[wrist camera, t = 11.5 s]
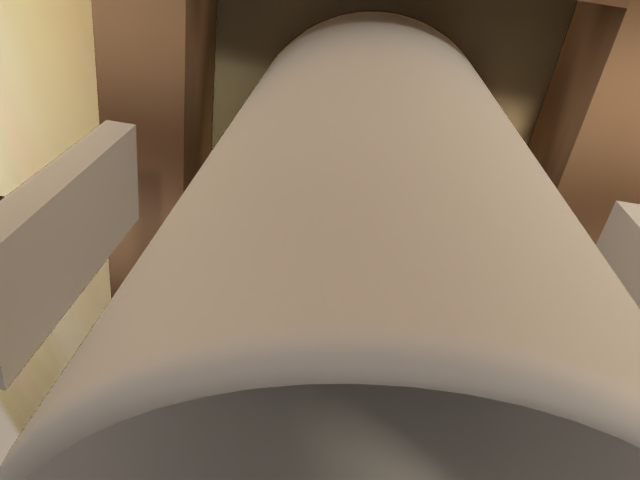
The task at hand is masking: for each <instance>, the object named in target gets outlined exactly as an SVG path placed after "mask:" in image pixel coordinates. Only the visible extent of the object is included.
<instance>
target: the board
mask: <svg viewBox="0 0 640 480" xmlns="http://www.w3.org/2000/svg"><path fill="white" fill-rule="evenodd" d="M577 1H578V3H577V5H576V8H575V11H574V14H573V17H572V20H571V23H570V26H569V29H568V32H567V34H566V37H565V40H564V43H563V46H562V49H561V52H560V55H559V58H558V60H557V63H556V66H555V69H554V72H553V75H552V78H551V81H550V84H549V87H548V89H547V92H546V95H545V98H544V101H543V104H542V107H541V110H540V113H539V116H538V118H537V121H536V124H535V127H534V130H533V133H532V136H531V139H530V142H529V145H528V147H529V149H530V150H531V152H532V153H533V155H534V156H535V158H536V159H537V161H538V162H539V163H540V165H541V166H542V168H543V169H544V171H545V172H546V174H547V175H548V177H549V178H550V179H551V181H552V182H553V184H554V185H555V187H556V188H557V190H558V191H559V193H560V194H561V195H562V197H563V198H564V200H565V201H566V203H567V204H568V206H569V207H570V209H571V210H572V211H573V213H574V214H575V216H576V217H577V219H578V220H579V222H580V223H581V224H582V226H583V227H584V229H585V230H586V232H587V233H588V235H589V236H590V238H591V239H592V240H593V242H594V243H595V245H596V244H597V242H598V239H599V237H600V235H601V233H602V231H603V228H604V226H605V224H606V222H607V220H608V217H609V215H610V213H611V211H612V209H613V206H614V204H615V202H616V201H622V202H628V203H635V204H640V0H577ZM91 2H92V17H93V32H94V46H95V61H96V76H97V91H98V106H99V121H100V124H102V123H103V122H104V121H106V120H110V121H116V122H123V123H129V124H135V125H136V143H137V174H138V205H139V219H138V220H137V222H136V223H135V224H134V225H133V227H132V228H131V229H130V231H129V232H128V233H127V234H126V236H125V237H124V238H123V240H122V241H121V242H120V243H119V245H118V246H117V247H116V249H115V250H114V251H113V253H112V254H111V255H110V256H109V270H110V284H111V299H112V297H113V296H114V294H115V293H116V292H117V290H118V289H119V287H120V286H121V284H122V283H123V281H124V280H125V278H126V277H127V275H128V274H129V272H130V271H131V269H132V268H133V267H134V265H135V264H136V262H137V261H138V259H139V258H140V256H141V255H142V253H143V252H144V250H145V249H146V247H147V246H148V244H149V243H150V241H151V240H152V239H153V237H154V236H155V234H156V233H157V231H158V230H159V228H160V227H161V225H162V224H163V222H164V221H165V219H166V218H167V216H168V215H169V213H170V212H171V211H172V209H173V208H174V206H175V205H176V203H177V202H178V200H179V199H180V197H181V196H182V194H183V193H184V191H185V190H186V188H187V187H188V186H189V184H190V183H191V181H192V180H193V178H194V177H195V175H196V174H197V172H198V171H199V169H200V168H201V166H202V165H203V163H204V162H205V160H206V159H207V158H208V156H209V155H210V153H211V143H212V117H213V92H214V66H215V41H216V15H217V0H91Z"/></svg>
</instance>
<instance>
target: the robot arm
mask: <svg viewBox="0 0 640 480" xmlns="http://www.w3.org/2000/svg"><path fill="white" fill-rule="evenodd" d="M138 219H139V205H138V174H137V143H136V125H135V124H129V123H123V122H116V121H110V120H106V121H104V122H103V123H102V124H100V125H99V126H98V127H96V128H95V129H94V130H93V131H91V132H90V133H89V134H87V135H86V136H85V137H83V138H82V139H81V140H79V141H78V142H77V143H75V144H74V145H73V146H71V147H70V148H69V149H68V150H66V151H65V152H64V153H62V154H61V155H60V156H58V157H57V158H56V159H54V160H53V161H52V162H50V163H49V164H48V165H46V166H45V167H44V168H43V169H41V170H40V171H39V172H37V173H36V174H35V175H33V176H32V177H31V178H29V179H28V180H27V181H25V182H24V183H23V184H21V185H20V186H19V187H18V188H16V189H15V190H14V191H12V192H11V193H10V194H8V195H7V196H6V197H3V196H0V390H7V388H8V387H9V386H10V384H11V383H12V382H13V380H14V379H15V378H16V377H17V375H18V374H19V373H20V371H21V370H22V369H23V368H24V366H25V365H26V364H27V362H28V361H29V360H30V358H31V357H32V356H33V355H34V353H35V352H36V351H37V349H38V348H39V347H40V346H41V344H42V343H43V342H44V340H45V339H46V338H47V337H48V335H49V334H50V333H51V331H52V330H53V329H54V327H55V326H56V325H57V324H58V322H59V321H60V320H61V318H62V317H63V316H64V315H65V313H66V312H67V311H68V309H69V308H70V307H71V306H72V304H73V303H74V302H75V300H76V299H77V298H78V296H79V295H80V294H81V293H82V291H83V290H84V289H85V287H86V286H87V285H88V284H89V282H90V281H91V280H92V278H93V277H94V276H95V274H96V273H97V272H98V271H99V269H100V268H101V267H102V265H103V264H104V263H105V262H106V260H107V259H108V258H109V256H110V255H111V254H112V253H113V251H114V250H115V249H116V247H117V246H118V245H119V243H120V242H121V241H122V240H123V238H124V237H125V236H126V234H127V233H128V232H129V231H130V229H131V228H132V227H133V225H134V224H135V223H136V222H137V220H138ZM596 246H597V248H598V249H599V251H600V252H601V254H602V255H603V256H604V258H605V259H606V261H607V262H608V264H609V265H610V267H611V268H612V270H613V271H614V272H615V274H616V275H617V277H618V278H619V280H620V281H621V283H622V284H623V286H624V287H625V288H626V290H627V291H628V293H629V294H630V296H631V297H632V299H633V300H634V302H635V303H636V304H637V306H638V307H639V309H640V204H635V203H628V202H622V201H616V202H615V204H614V206H613V209H612V211H611V213H610V215H609V217H608V220H607V222H606V224H605V226H604V228H603V231H602V233H601V235H600V237H599V239H598V242H597V244H596Z"/></svg>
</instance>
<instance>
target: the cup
mask: <svg viewBox="0 0 640 480" xmlns="http://www.w3.org/2000/svg"><path fill="white" fill-rule="evenodd" d="M0 480H640V309H639V307H638V306H637V304H636V303H635V302H634V300H633V299H632V297H631V296H630V294H629V293H628V291H627V290H626V288H625V287H624V286H623V284H622V283H621V281H620V280H619V278H618V277H617V275H616V274H615V272H614V271H613V270H612V268H611V267H610V265H609V264H608V262H607V261H606V259H605V258H604V256H603V255H602V254H601V252H600V251H599V249H598V248H597V246H596V245H595V243H594V242H593V240H592V239H591V238H590V236H589V235H588V233H587V232H586V230H585V229H584V227H583V226H582V224H581V223H580V222H579V220H578V219H577V217H576V216H575V214H574V213H573V211H572V210H571V209H570V207H569V206H568V204H567V203H566V201H565V200H564V198H563V197H562V195H561V194H560V193H559V191H558V190H557V188H556V187H555V185H554V184H553V182H552V181H551V179H550V178H549V177H548V175H547V174H546V172H545V171H544V169H543V168H542V166H541V165H540V163H539V162H538V161H537V159H536V158H535V156H534V155H533V153H532V152H531V150H530V149H529V147H528V146H527V145H526V143H525V142H524V140H523V139H522V137H521V136H520V134H519V133H518V131H517V130H516V129H515V127H514V126H513V124H512V123H511V121H510V120H509V118H508V117H507V115H506V114H505V113H504V111H503V110H502V108H501V107H500V105H499V104H498V102H497V101H496V100H495V98H494V97H493V95H492V94H491V92H490V91H489V89H488V88H487V86H486V85H485V84H484V82H483V81H482V79H481V78H480V76H479V75H478V73H477V72H476V70H475V69H474V68H473V66H472V65H471V63H470V62H469V60H468V59H467V57H466V56H465V55H464V54H463V53H462V51H461V50H460V49H459V48H458V47H457V46H456V45H455V44H454V43H453V42H452V41H451V40H450V39H448V38H447V37H446V36H444V35H443V34H442V33H440V32H439V31H437V30H436V29H434V28H432V27H431V26H429V25H427V24H425V23H423V22H420V21H418V20H416V19H413V18H410V17H407V16H403V15H399V14H395V13H387V12H372V11H367V12H355V13H350V14H345V15H341V16H337V17H334V18H331V19H328V20H326V21H323V22H321V23H319V24H317V25H315V26H313V27H311V28H309V29H307V30H306V31H304V32H303V33H302V34H300V35H299V36H297V37H296V38H295V39H294V40H292V41H291V42H290V43H289V44H288V45H287V46H286V47H285V48H284V49H283V50H282V51H281V52H280V53H279V54H278V56H277V57H276V58H275V59H274V61H273V62H272V63H271V65H270V66H269V68H268V69H267V71H266V72H265V74H264V75H263V77H262V78H261V80H260V81H259V82H258V84H257V85H256V87H255V88H254V90H253V91H252V93H251V94H250V96H249V97H248V99H247V100H246V102H245V103H244V105H243V106H242V107H241V109H240V110H239V112H238V113H237V115H236V116H235V118H234V119H233V121H232V122H231V124H230V125H229V127H228V128H227V130H226V131H225V133H224V134H223V135H222V137H221V138H220V140H219V141H218V143H217V144H216V146H215V147H214V149H213V150H212V152H211V153H210V155H209V156H208V158H207V159H206V160H205V162H204V163H203V165H202V166H201V168H200V169H199V171H198V172H197V174H196V175H195V177H194V178H193V180H192V181H191V183H190V184H189V186H188V187H187V188H186V190H185V191H184V193H183V194H182V196H181V197H180V199H179V200H178V202H177V203H176V205H175V206H174V208H173V209H172V211H171V212H170V213H169V215H168V216H167V218H166V219H165V221H164V222H163V224H162V225H161V227H160V228H159V230H158V231H157V233H156V234H155V236H154V237H153V239H152V240H151V241H150V243H149V244H148V246H147V247H146V249H145V250H144V252H143V253H142V255H141V256H140V258H139V259H138V261H137V262H136V264H135V265H134V267H133V268H132V269H131V271H130V272H129V274H128V275H127V277H126V278H125V280H124V281H123V283H122V284H121V286H120V287H119V289H118V290H117V292H116V293H115V294H114V296H113V297H112V299H111V300H110V302H109V303H108V305H107V306H106V308H105V309H104V311H103V312H102V314H101V315H100V317H99V318H98V320H97V321H96V323H95V324H94V326H93V327H92V329H91V330H90V332H89V333H88V335H87V336H86V338H85V339H84V340H83V342H82V343H81V345H80V346H79V348H78V349H77V351H76V352H75V354H74V355H73V357H72V358H71V360H70V361H69V363H68V364H67V366H66V367H65V369H64V370H63V372H62V373H61V375H60V376H59V378H58V379H57V381H56V382H55V384H54V385H53V386H52V388H51V389H50V391H49V392H48V394H47V395H46V397H45V398H44V400H43V401H42V403H41V404H40V406H39V407H38V409H37V410H36V412H35V413H34V415H33V416H32V418H31V419H30V421H29V422H28V424H27V425H26V427H25V428H24V430H23V431H22V432H21V434H20V435H19V437H18V438H17V440H16V442H15V443H14V445H13V446H12V447H11V449H10V451H9V453H8V454H7V456H6V458H5V459H4V461H3V463H2V465H1V466H0Z"/></svg>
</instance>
